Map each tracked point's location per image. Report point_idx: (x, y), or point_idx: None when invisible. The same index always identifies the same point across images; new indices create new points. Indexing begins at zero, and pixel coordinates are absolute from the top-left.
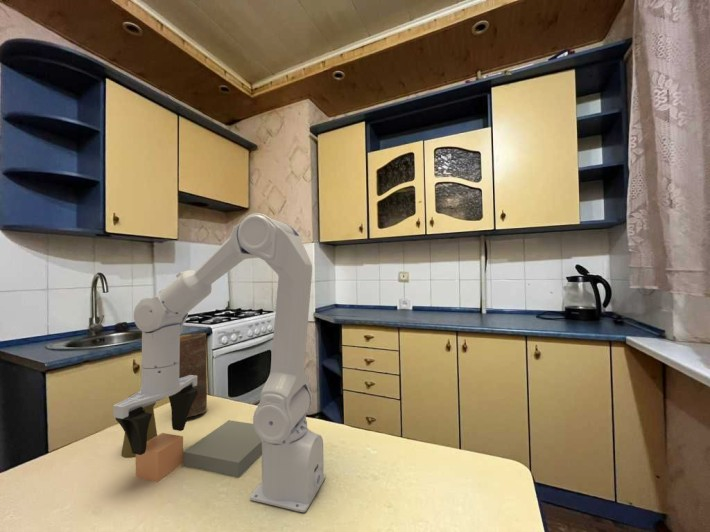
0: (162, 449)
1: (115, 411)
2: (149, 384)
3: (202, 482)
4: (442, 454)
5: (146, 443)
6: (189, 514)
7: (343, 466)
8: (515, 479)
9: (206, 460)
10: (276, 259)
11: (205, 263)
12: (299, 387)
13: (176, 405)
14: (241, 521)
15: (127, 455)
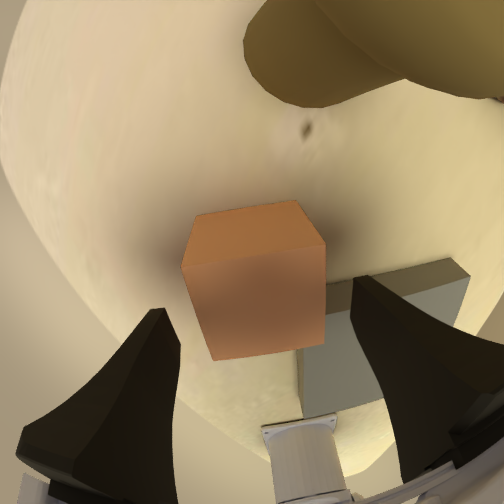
0: (232, 357)
1: (28, 501)
2: None
3: (263, 368)
4: (378, 455)
5: (177, 381)
6: (200, 397)
7: (352, 438)
8: (350, 474)
9: (301, 368)
10: None
11: None
12: None
13: (409, 383)
14: (230, 432)
15: (248, 62)
